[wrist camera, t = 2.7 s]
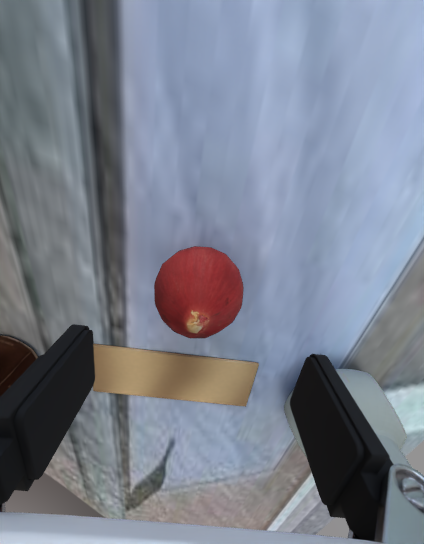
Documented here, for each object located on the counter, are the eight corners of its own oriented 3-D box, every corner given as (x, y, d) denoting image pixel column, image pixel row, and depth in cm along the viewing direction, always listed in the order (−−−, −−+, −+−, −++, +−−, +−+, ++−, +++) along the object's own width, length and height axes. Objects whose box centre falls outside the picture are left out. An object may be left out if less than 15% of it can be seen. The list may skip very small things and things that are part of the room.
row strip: (94, 388, 24) (93, 391, 24) (91, 343, 22) (90, 345, 22) (245, 404, 25) (245, 406, 25) (258, 362, 23) (258, 364, 23)
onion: (232, 302, 20) (245, 378, 13) (165, 298, 20) (139, 373, 13) (240, 236, 18) (262, 283, 10) (164, 231, 18) (132, 276, 10)
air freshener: (269, 375, 24) (306, 505, 14) (348, 341, 22) (448, 464, 13) (309, 433, 27) (358, 566, 18) (379, 408, 26) (473, 540, 17)
